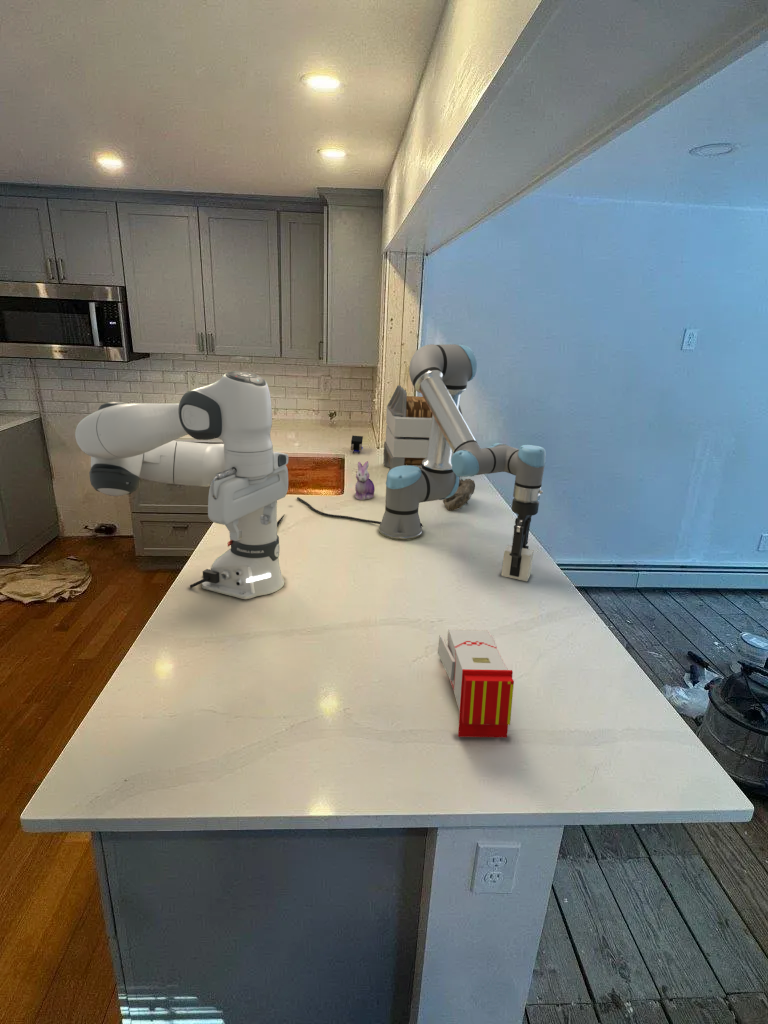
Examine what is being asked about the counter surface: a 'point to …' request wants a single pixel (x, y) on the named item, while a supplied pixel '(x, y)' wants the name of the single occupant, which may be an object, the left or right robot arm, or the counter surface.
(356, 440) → the figurine character
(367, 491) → the figurine
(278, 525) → the feather
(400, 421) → the slatted wooden crate
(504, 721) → the toy
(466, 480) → the fossil
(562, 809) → the counter surface
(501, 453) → the right robot arm
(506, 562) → the block
